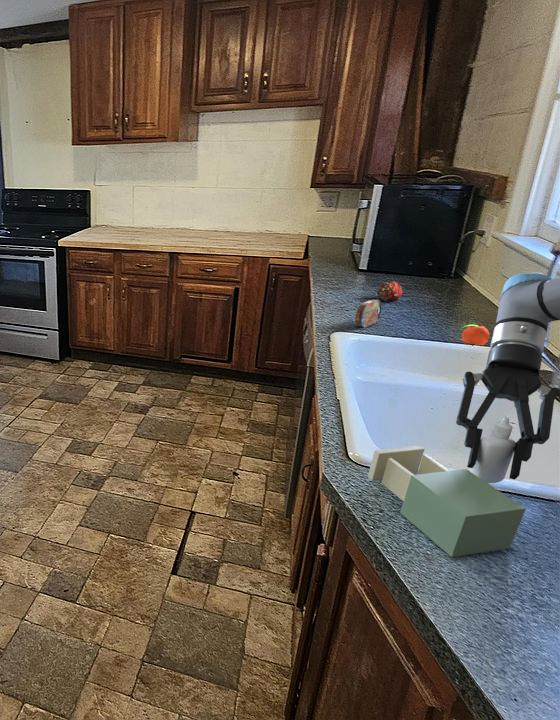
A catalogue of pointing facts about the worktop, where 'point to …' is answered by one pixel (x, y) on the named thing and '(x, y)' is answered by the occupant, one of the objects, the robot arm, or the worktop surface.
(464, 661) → the worktop surface
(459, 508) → the cabinet
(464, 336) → the red tomato
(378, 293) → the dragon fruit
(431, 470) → the drawer
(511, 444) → the eye dropper bottle
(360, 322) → the sandwich
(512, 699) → the worktop surface
